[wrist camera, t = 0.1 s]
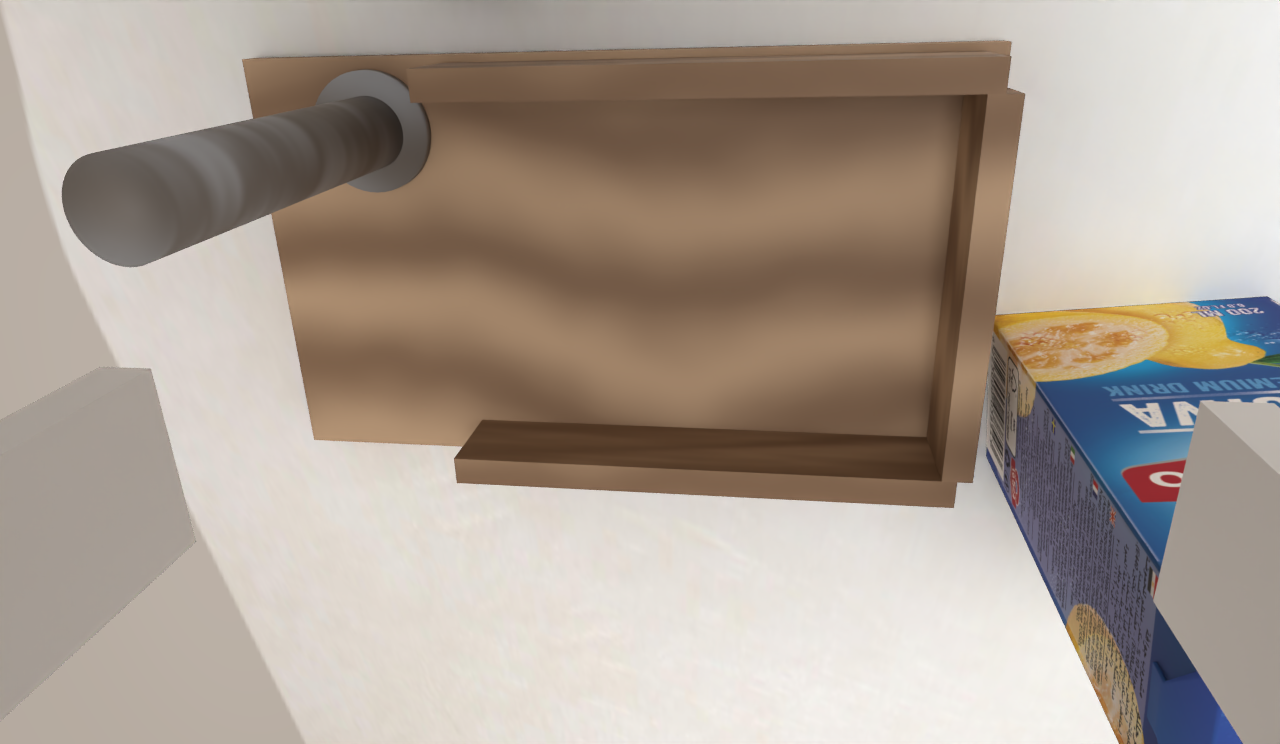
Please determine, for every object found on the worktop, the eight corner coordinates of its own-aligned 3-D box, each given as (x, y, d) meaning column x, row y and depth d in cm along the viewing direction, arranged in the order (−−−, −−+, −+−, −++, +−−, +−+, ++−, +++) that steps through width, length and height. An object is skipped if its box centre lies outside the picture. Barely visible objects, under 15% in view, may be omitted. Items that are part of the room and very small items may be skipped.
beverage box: (1247, 445, 38) (1765, 928, 18) (983, 455, 40) (1187, 902, 20) (1269, 295, 36) (1897, 665, 16) (986, 315, 38) (1223, 665, 18)
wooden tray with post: (257, 58, 38) (-109, 93, 22) (1003, 40, 34) (1201, 70, 18) (325, 429, 45) (82, 656, 29) (952, 455, 40) (1063, 740, 25)
